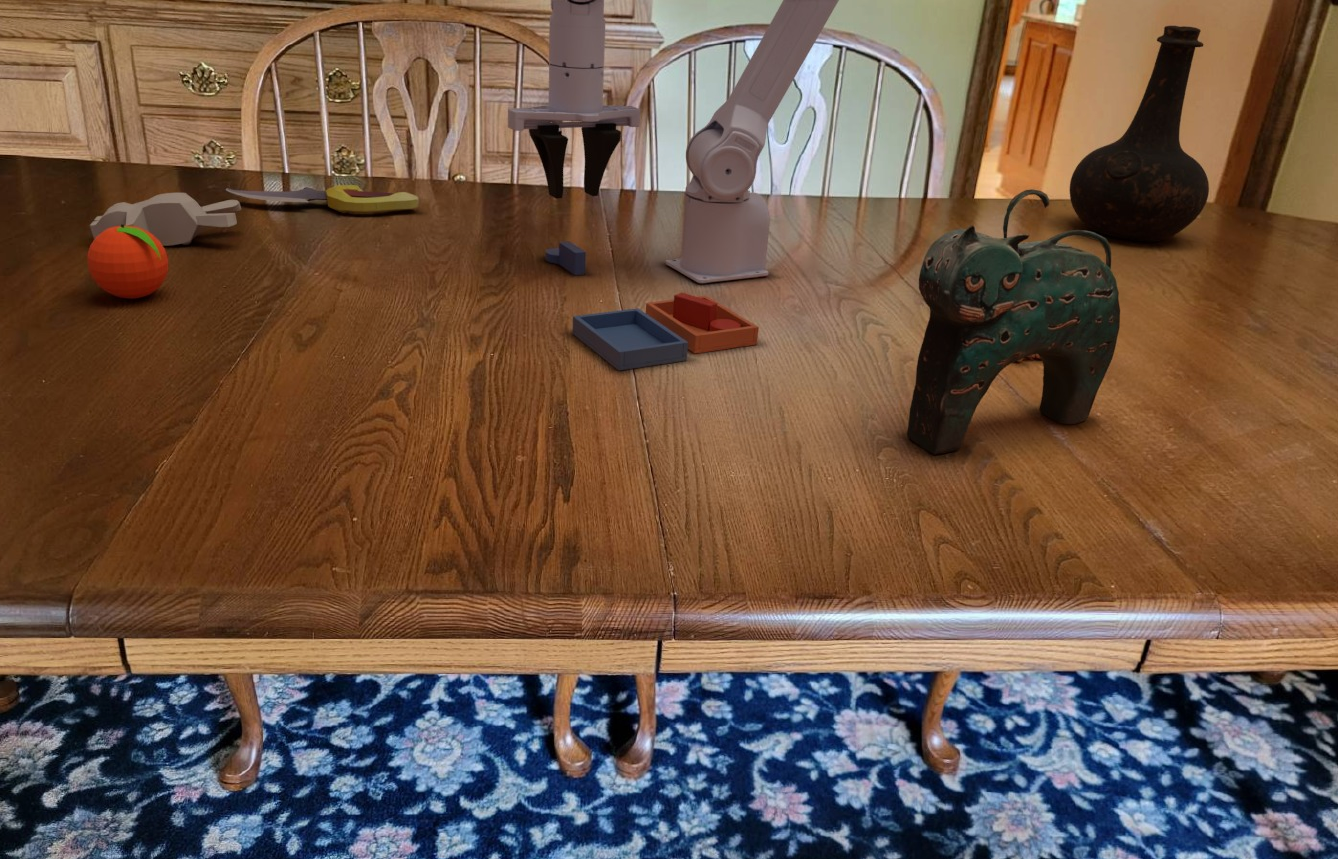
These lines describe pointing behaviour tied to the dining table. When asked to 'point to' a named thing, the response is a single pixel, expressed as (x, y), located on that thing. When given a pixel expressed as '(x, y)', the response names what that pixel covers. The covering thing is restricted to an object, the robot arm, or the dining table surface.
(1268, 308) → the dining table surface
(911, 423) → the ceramic cat
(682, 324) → the red tray
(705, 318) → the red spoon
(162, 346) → the dining table surface
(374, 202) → the knife
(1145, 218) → the glass bottle
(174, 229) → the bunny figurine
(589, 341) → the blue tray
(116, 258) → the clementine
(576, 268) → the blue stepped block
